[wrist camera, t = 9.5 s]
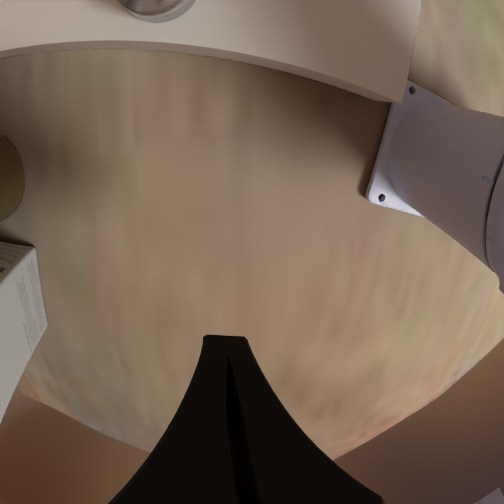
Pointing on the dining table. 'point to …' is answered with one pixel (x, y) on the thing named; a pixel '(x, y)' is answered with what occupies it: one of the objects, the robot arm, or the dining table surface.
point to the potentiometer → (157, 9)
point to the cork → (10, 178)
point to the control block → (239, 36)
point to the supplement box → (18, 315)
